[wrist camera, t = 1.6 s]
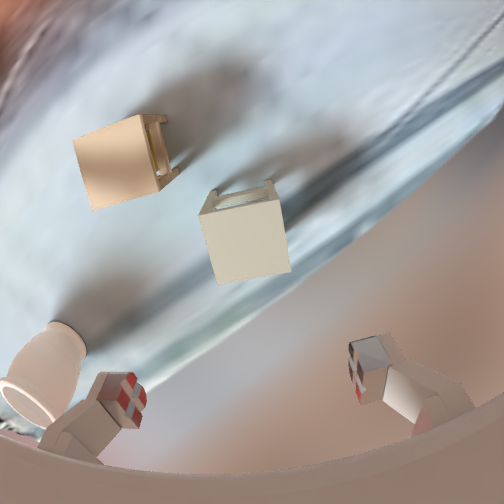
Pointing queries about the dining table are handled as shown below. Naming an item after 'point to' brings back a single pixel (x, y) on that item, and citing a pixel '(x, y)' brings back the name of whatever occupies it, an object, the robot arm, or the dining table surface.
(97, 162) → the tan square stool
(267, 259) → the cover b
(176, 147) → the dining table surface
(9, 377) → the jar
